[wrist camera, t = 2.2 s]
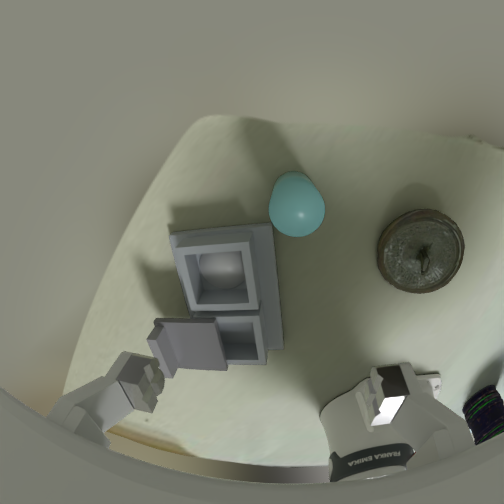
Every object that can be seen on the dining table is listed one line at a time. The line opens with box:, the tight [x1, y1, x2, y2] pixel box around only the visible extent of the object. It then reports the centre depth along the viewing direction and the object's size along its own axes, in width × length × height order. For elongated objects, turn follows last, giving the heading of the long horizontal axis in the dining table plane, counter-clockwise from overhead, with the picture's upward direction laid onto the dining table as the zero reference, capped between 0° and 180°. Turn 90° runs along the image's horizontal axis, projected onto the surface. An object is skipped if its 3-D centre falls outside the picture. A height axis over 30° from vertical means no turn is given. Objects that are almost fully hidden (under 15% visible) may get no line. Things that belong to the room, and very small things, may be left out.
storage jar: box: [462, 385, 504, 445], centre depth 29 cm, size 10×10×15 cm
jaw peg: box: [269, 171, 325, 237], centre depth 22 cm, size 4×4×8 cm
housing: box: [169, 222, 284, 365], centre depth 29 cm, size 16×11×4 cm
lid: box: [378, 209, 465, 294], centre depth 24 cm, size 11×10×5 cm
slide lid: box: [146, 318, 228, 378], centre depth 28 cm, size 7×7×3 cm
